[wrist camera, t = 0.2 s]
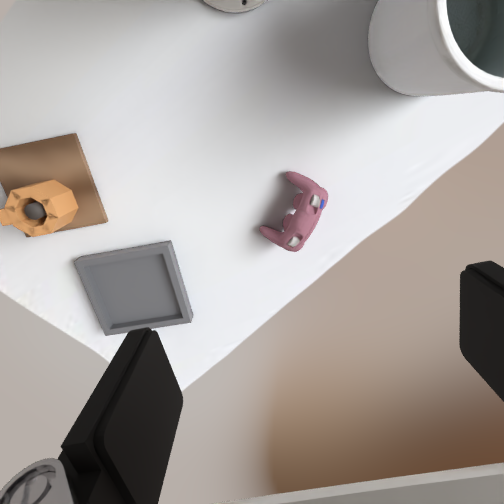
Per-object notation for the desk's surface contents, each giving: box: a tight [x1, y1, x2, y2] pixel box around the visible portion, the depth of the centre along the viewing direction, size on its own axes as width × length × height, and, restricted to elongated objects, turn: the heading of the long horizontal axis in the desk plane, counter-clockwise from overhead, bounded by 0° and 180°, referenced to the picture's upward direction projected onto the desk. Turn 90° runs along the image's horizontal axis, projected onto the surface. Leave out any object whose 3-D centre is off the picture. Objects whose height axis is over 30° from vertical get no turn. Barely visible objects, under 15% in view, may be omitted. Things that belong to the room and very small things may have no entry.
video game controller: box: [260, 171, 328, 252], centre depth 44 cm, size 10×5×7 cm, turn 156°
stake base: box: [0, 133, 108, 237], centre depth 42 cm, size 12×12×6 cm
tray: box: [74, 241, 193, 336], centre depth 50 cm, size 13×14×2 cm
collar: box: [0, 180, 78, 237], centre depth 43 cm, size 6×8×5 cm
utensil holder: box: [368, 0, 504, 96], centre depth 30 cm, size 15×15×18 cm
